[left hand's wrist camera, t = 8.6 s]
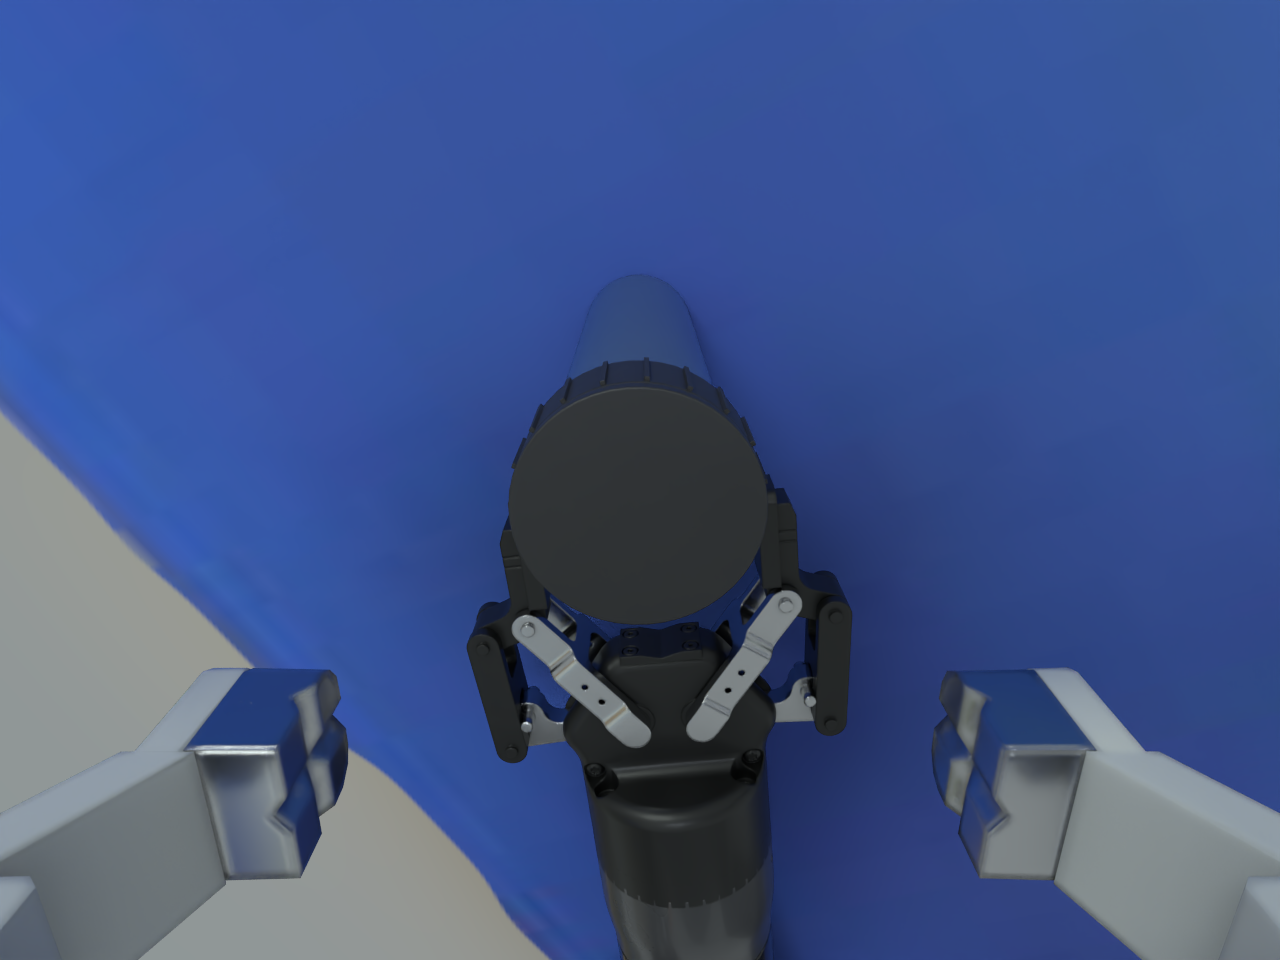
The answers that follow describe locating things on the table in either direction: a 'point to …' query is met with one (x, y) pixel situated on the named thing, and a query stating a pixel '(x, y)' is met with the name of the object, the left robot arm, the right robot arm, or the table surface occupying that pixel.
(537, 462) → the lid
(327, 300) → the table surface
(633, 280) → the grey cylinder
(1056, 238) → the table surface
